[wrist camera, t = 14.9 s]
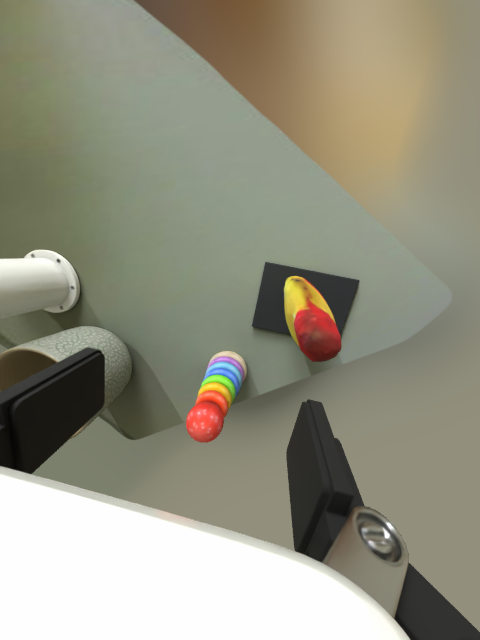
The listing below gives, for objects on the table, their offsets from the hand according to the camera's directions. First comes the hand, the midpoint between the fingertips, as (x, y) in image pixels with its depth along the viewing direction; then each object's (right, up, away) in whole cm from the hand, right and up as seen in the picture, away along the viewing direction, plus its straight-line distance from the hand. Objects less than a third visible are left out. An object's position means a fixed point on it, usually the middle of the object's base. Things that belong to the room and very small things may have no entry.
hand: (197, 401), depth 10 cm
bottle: (+13, +7, +30) cm, 33 cm away
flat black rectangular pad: (+13, +7, +30) cm, 34 cm away
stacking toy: (0, -6, +36) cm, 37 cm away
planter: (-27, -4, +40) cm, 48 cm away
